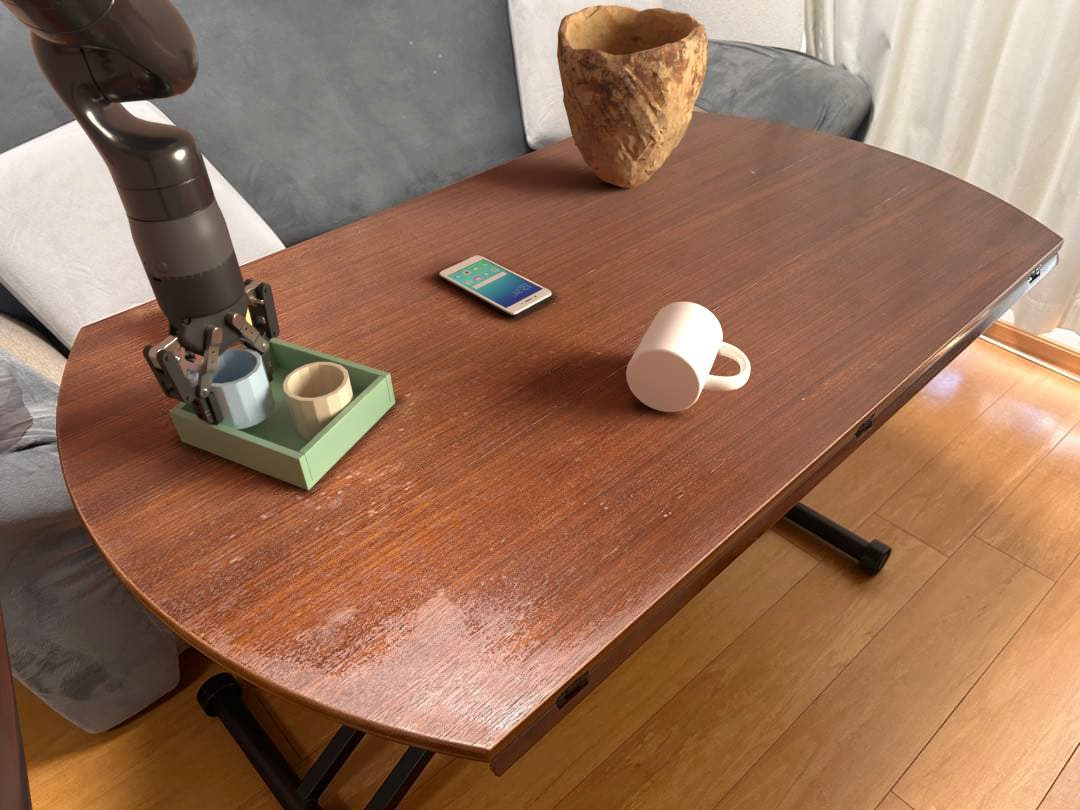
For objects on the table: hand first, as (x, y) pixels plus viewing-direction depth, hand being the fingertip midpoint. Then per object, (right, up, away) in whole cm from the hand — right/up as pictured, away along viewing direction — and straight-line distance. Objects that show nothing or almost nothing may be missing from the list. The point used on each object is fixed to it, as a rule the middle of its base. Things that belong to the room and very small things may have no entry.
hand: (239, 400), depth 77 cm
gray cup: (0, -1, +1) cm, 1 cm away
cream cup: (+8, -2, +3) cm, 9 cm away
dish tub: (+4, -2, +4) cm, 6 cm away
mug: (+47, +1, +7) cm, 47 cm away
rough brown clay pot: (+44, +36, +50) cm, 76 cm away
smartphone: (+24, +15, +24) cm, 37 cm away
